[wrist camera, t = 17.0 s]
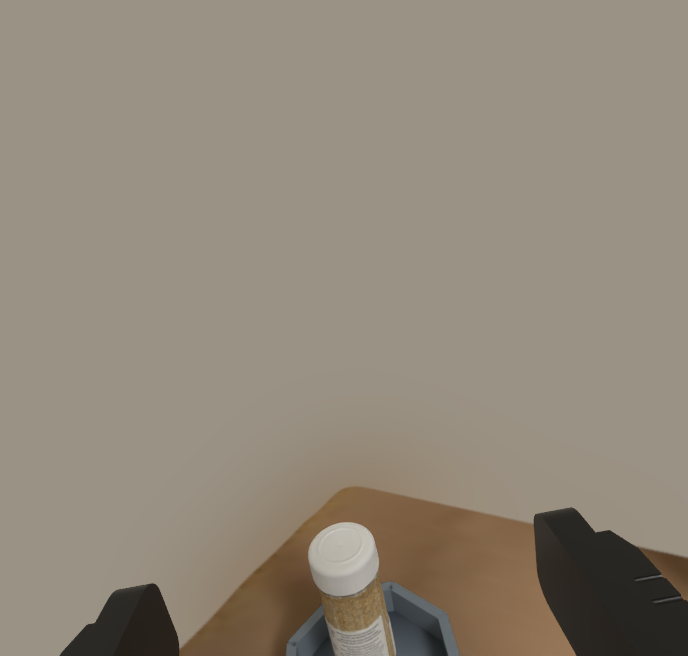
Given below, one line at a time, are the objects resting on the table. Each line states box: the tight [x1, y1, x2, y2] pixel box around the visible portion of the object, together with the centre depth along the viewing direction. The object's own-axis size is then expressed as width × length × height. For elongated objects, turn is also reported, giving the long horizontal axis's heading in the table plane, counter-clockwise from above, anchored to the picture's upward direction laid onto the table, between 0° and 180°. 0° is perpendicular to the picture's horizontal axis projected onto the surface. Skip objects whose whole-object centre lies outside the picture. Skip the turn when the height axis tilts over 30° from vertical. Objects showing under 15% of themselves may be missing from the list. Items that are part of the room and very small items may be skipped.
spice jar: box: [308, 522, 396, 656], centre depth 30 cm, size 5×5×13 cm
